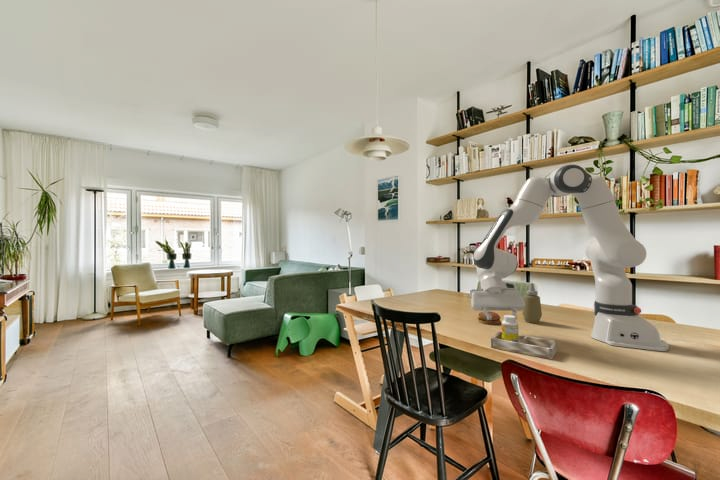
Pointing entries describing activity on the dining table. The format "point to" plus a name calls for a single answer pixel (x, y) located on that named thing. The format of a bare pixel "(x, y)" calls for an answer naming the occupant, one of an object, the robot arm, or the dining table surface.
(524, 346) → the grey divided wooden tray
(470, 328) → the dining table surface
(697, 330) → the dining table surface
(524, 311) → the squeeze bottle
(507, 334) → the supplement bottle
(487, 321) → the burger
